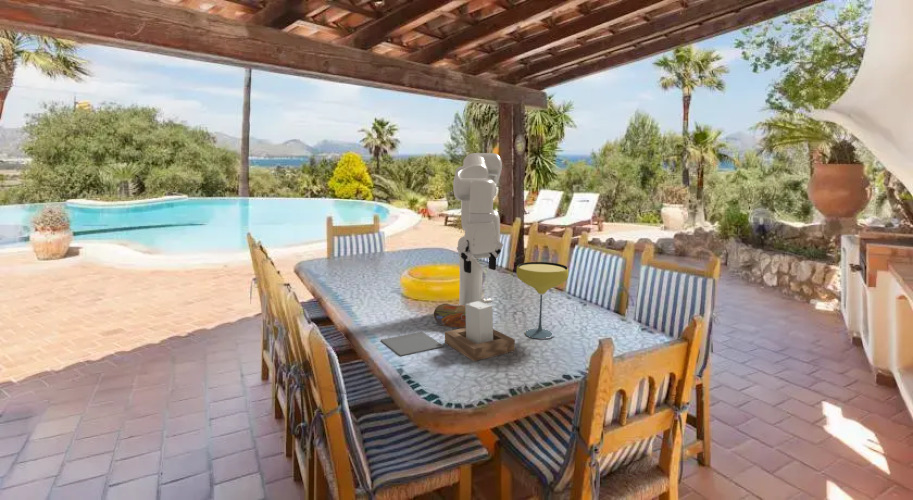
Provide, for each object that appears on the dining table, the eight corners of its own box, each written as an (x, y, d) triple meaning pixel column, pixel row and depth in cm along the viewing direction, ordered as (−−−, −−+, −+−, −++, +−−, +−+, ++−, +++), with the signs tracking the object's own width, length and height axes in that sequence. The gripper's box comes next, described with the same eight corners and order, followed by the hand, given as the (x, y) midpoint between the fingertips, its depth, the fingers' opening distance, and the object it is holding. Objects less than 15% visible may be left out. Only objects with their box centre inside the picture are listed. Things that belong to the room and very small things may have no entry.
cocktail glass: (567, 329, 177) (571, 263, 173) (562, 346, 160) (565, 274, 156) (520, 323, 183) (522, 260, 179) (509, 339, 166) (511, 269, 162)
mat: (421, 332, 172) (421, 331, 172) (444, 346, 159) (444, 345, 159) (380, 340, 164) (380, 339, 164) (400, 356, 151) (400, 355, 151)
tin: (433, 324, 182) (433, 303, 180) (436, 322, 184) (436, 301, 183) (470, 329, 176) (471, 307, 175) (473, 326, 179) (473, 305, 178)
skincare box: (493, 349, 157) (494, 306, 155) (478, 353, 154) (479, 308, 151) (478, 341, 164) (479, 300, 162) (464, 344, 161) (464, 302, 158)
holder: (483, 334, 171) (483, 324, 170) (514, 351, 156) (514, 339, 155) (444, 342, 162) (444, 331, 162) (473, 361, 147) (474, 349, 147)
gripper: (495, 216, 159) (494, 266, 162) (451, 218, 150) (451, 271, 153) (509, 218, 153) (508, 270, 156) (464, 220, 144) (463, 276, 147)
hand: (480, 270), depth 154 cm, fingers open, 9 cm apart
